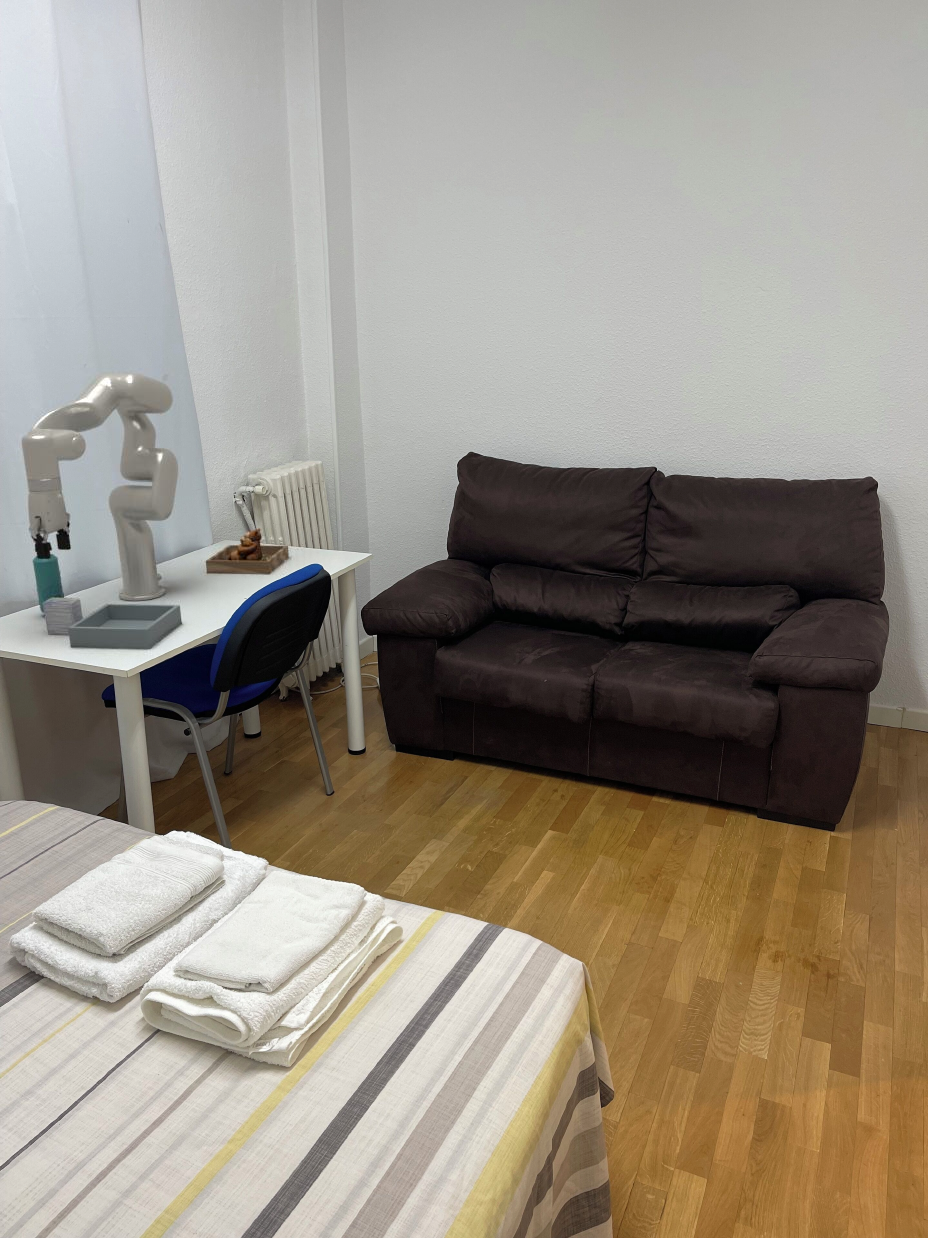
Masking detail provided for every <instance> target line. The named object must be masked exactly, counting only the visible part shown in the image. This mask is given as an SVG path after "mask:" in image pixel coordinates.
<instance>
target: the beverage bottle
mask: <svg viewBox="0 0 928 1238" xmlns="http://www.w3.org/2000/svg"><path fill="white" fill-rule="evenodd" d="M48 542H49V548H50V552H51V551H52V550H53V548H52V544H51V542H50V541H48ZM34 551H35V552H36V545H35V544H34ZM36 553H37V552H36ZM50 555H51V558H50V559H38V558H37V555H36V556H35V557H34V558H33V559H32V566H33V571H34V576H35V582H36V583H35V584H36V592H37V598H38V605H39V610H40V611H41V613H43V614H45V613H44V607H43V602H45V601H46V600H48V599H50V598H65V593H64V590H63V583H62V577H61V570H60V565H59V558H58V556H56V555H55V554H53V553H50Z"/></svg>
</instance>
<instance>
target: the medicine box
mask: <svg viewBox="0 0 928 1238" xmlns="http://www.w3.org/2000/svg"><path fill="white" fill-rule="evenodd" d="M43 607H44V613H43V614H44V618H45V619H44V620H45V624H46V625H45V627H46V633H47V634H48V635H61V636H62V635H66V636H69V632H68V627H70V626H72V625H73V624H75V623H76V622H78V621H80V620H81V619H83V618H84V617H83V610H82V605H81V599H80V598H79V597H76V598H73V597H64V598H50V599H48V600H46V601H45V602H43Z"/></svg>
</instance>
